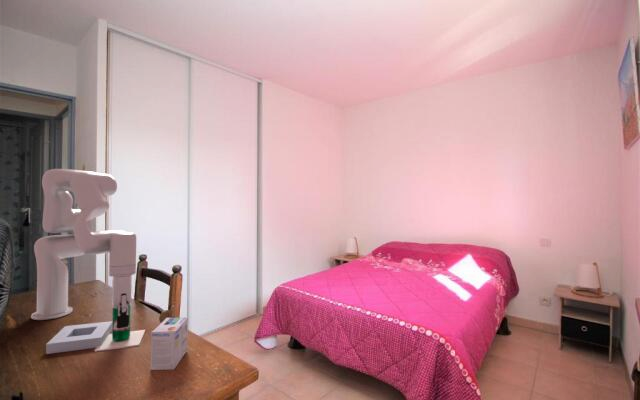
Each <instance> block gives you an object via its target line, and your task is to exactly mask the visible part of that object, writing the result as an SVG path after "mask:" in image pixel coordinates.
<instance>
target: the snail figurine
mask: <svg viewBox="0 0 640 400" xmlns="http://www.w3.org/2000/svg"><path fill="white" fill-rule="evenodd" d="M172 304H173V305H171V308H170V309H171V310H170V309H165V310H163V311H162V312H161V313H160V315H159V318H158V319H159V322H160V324H161V323H162V322H163V321H164V320H165V319H166V318H175V312H176V309H177V307H176V304H177V302H175V301H173V302H172Z"/></svg>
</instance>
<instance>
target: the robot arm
mask: <svg viewBox="0 0 640 400" xmlns="http://www.w3.org/2000/svg"><path fill="white" fill-rule="evenodd" d="M117 183H118V182H117V180H116V179H115V177H113V176H112V174H109V173H104V172H103V173H102V172H98V171H90V170H89V171H88V170H80V169H70V168H69V169H67V168H51V169H48V170H46V171H45V172H44V174H43V175H42V179H41V186H42V190H43V193H44V207H43V212H42V213H43V214H42V229H43V231H44V232H46V233H49V234H56V235H45V236H42V237H41V238H38V239H37V240H36V241H35V242H34V245H33V251H34V255H35V259H36V311H35V312H32V313H31V316H30V318H31V320H34V321H35V320H36V321H44V320H52V319H58V318H61V317H64V316H67V315H70V314H71V313H73V311H74V310H73V307H71V306H69V268H68V266H67V265H66V264H65V263H64V262H63V260H62V259H67V258H74V257H76V258H77V257H80V256H84V255H88V256H93V255H100V254H109V255H108V256H109V259H108V260H109V261H108V263H109V265H108V276H109V277H112V281H111V284H112V285H111V305H112V308H113V307H114V308H115V307H118V316H117V328H124V327H128V326H129V314H128V306H129V305H131V303H132V287H133V284H132V282H133V281H132V280H133V275H136V273H137V235H136V233H135V232H131V231H126V230H125V231H124V230H122V229H116V230H114V229H112V230H99V231H92V228H93V219H95V218H98V217H99V216H102V215H104V214H105V213H106V212H107V211H108V210H109V209H110V203H109V201H108V199H107V197H108V196H112V195H114V194H115V193H116V192H117V189H118V184H117ZM70 192H72V193H73V195H74V198H75V201H76V203H77V205H78V208H73V206H74V205H73V204H74V199H73V196H72V194H71V193H70ZM106 196H107V197H106ZM62 233H67V234H62ZM68 233H71V234H68ZM57 234H58V235H57ZM126 303H127V305H126ZM120 304H122V305H121V306H120ZM120 308H122V309H120Z"/></svg>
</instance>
